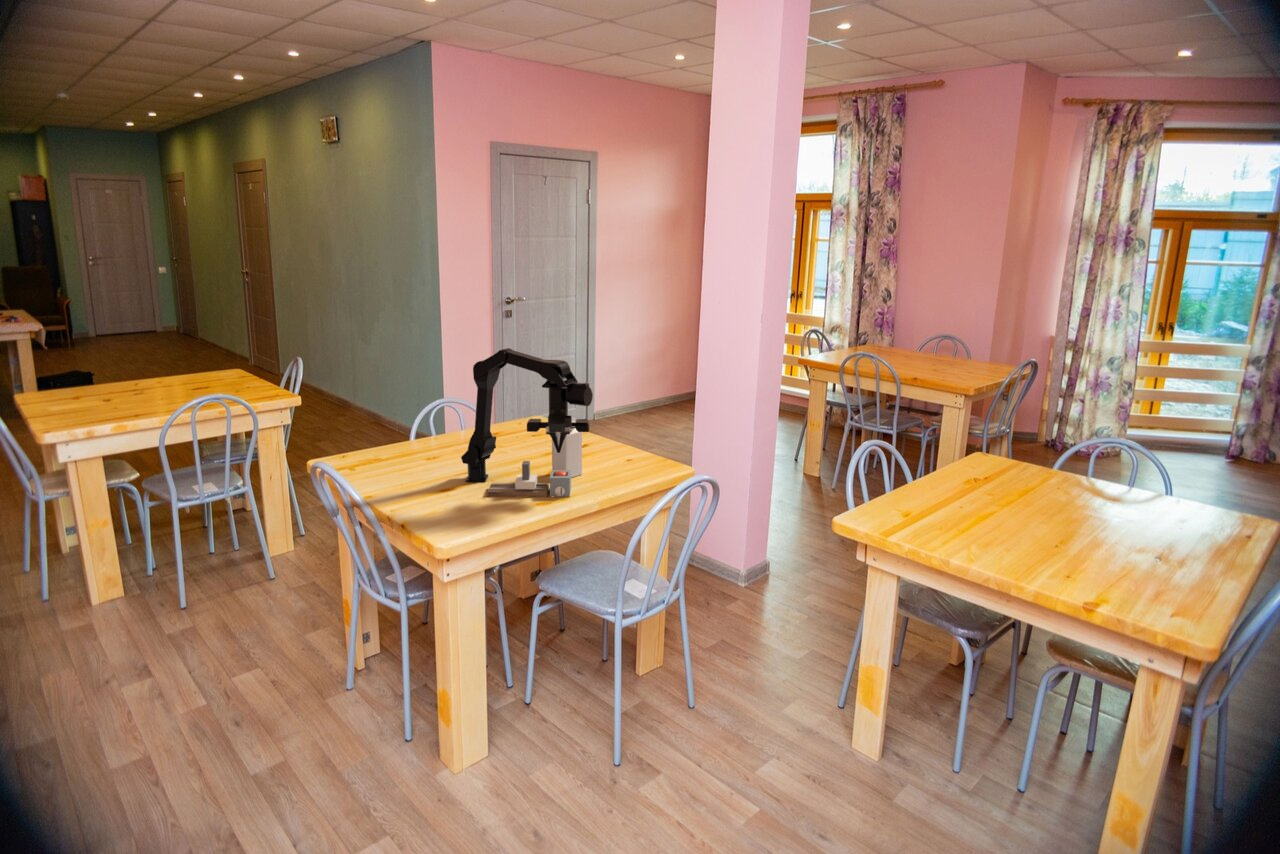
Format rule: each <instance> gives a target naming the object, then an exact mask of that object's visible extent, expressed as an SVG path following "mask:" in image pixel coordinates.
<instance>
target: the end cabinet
mask: <svg viewBox="0 0 1280 854" xmlns="http://www.w3.org/2000/svg"><path fill="white" fill-rule="evenodd" d="M556 471H565V472H566V476H555V472H556ZM571 491H572V477H571V470H552V469H551V471H550V475H549V497H550V496H553V498H554V497H559V498H561V497H564V498H565V497H566V498H569V497H571Z"/></svg>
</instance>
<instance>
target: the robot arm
mask: <svg viewBox="0 0 1280 854" xmlns="http://www.w3.org/2000/svg"><path fill="white" fill-rule="evenodd" d="M507 364H508V365H510V366H511V365H512V366H514V367H517V368H521V369H523V370H528V371H529V372H530V371H532V372H535V373H536V374H538V375H539V376H541V377H542V378H543V379H545V380H546V381H545V383H543V384H542V385H541V388H545V389H548V416H547V421H542V418H530V419H528V421H527V422H526V432H530V433H531V432H532V433H533V432H534V433H537V432H539V431H540V430H541V429H545V430H546V431H545V434H546V435H549V436H550V438H551V441H552V440H553V442H554V445H555V448H556V450H557V453H560V451H561V448H562V444H563V441H564V439H565V437H566V435H567V434H570V432H571V428H576V430H577V431H578V432H582V433H589V432H590V420H589V418H583V419H582V418H580V419H579V418H577V419H575V422H572V418H573V416H572V415H569V409H568V408H569V405H574V406H582V407H589V406H591V404H592V402H593V398H594V397H593V396H594V395H593V390H592V389H591V387H590V383H588V382H579V381H578V379H577V378H576V377H575V375H574V373H573V371H572V370H571V367H570V365H569V363H568V362H567V361H565V360H560V359H559V360H558V359H543V358H540V357H537V356H533V355H530V354H527V353H523V352H520V351H518V350H514V349H512V348H510V347H508V348H503V349H500V350H498V351H497V352H495V353H494V354H493V355H490V356H489V357H487V358H485V359H483V360H479V361H476V363H475V364H473V367H472V374H473V381H474V383H475V385H476V387H477V390H476V392H477V393H476V406H475V422H474V430H473V431H474V432H473V434H472V435H471V437H470V439H469V441H468V447H467V450H466V451H465V453H464V454H463V455H461V457H460V458H461V461H462V463H463V464H465V465H467V477H466V478H465V480H464V481H465V482H466V483H467V482H470V483H471V482H472V483H474V482H476V483H477V482H478V483H480V482H484V483H485V482H487V480H488V478H489V474H487V470H486V468H487V467H486V460H489V459H490V458H491V456H492V455H491V454H493V453H494V451H495V449H497V445H496V442H497V436H496V435H493V434H492V432H491V427H492V425H491V424H492V411H493V410H492V408H493V406H492V405H493V394H494V388H495V386H496V384H497V382H498V380H499V377H500V373H501V369H503V368H504V367H505V366H507ZM557 432H560V441H559V444H558V435H557Z"/></svg>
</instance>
